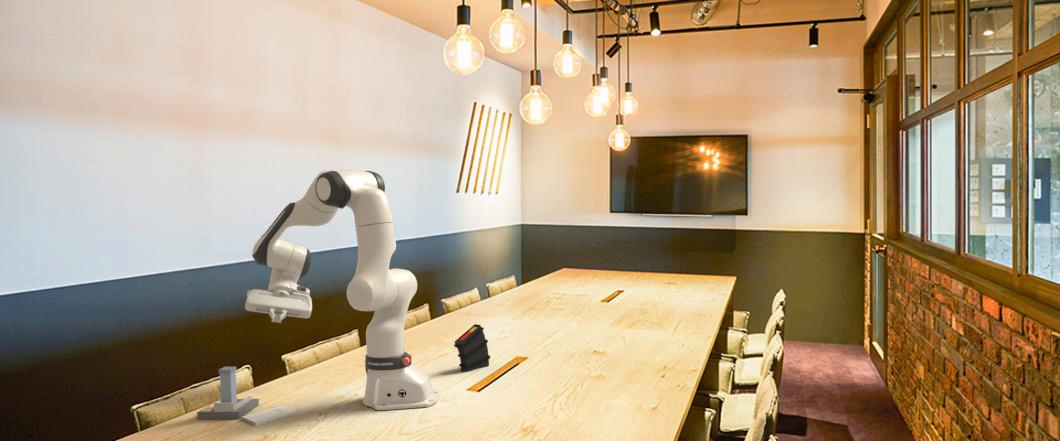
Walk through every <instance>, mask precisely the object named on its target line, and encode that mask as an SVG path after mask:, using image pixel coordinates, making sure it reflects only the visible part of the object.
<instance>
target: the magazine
mask: <svg viewBox="0 0 1060 441" xmlns="http://www.w3.org/2000/svg"><path fill="white" fill-rule="evenodd" d="M488 343H489V340H488V339H486V335H485V333H484V326H483V327H482V325H481V324H477V323H475V324H473V325H472V326H471V327H470V328H469V329H467V330H466V331H465V332H464V333H463V334H462V335H460V336H459V337H458V338H457V339H456V340H455V341H454V344H453V346H454V348H456V349H457V352H458V354H457V357H459V359H460V363H459V364H458V366H459V367H460V371H463V372H465V373H467V372H471V371H473V370H477V369H481V368H486V367H489V366H490V359H491V355H489V348H488Z"/></svg>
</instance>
